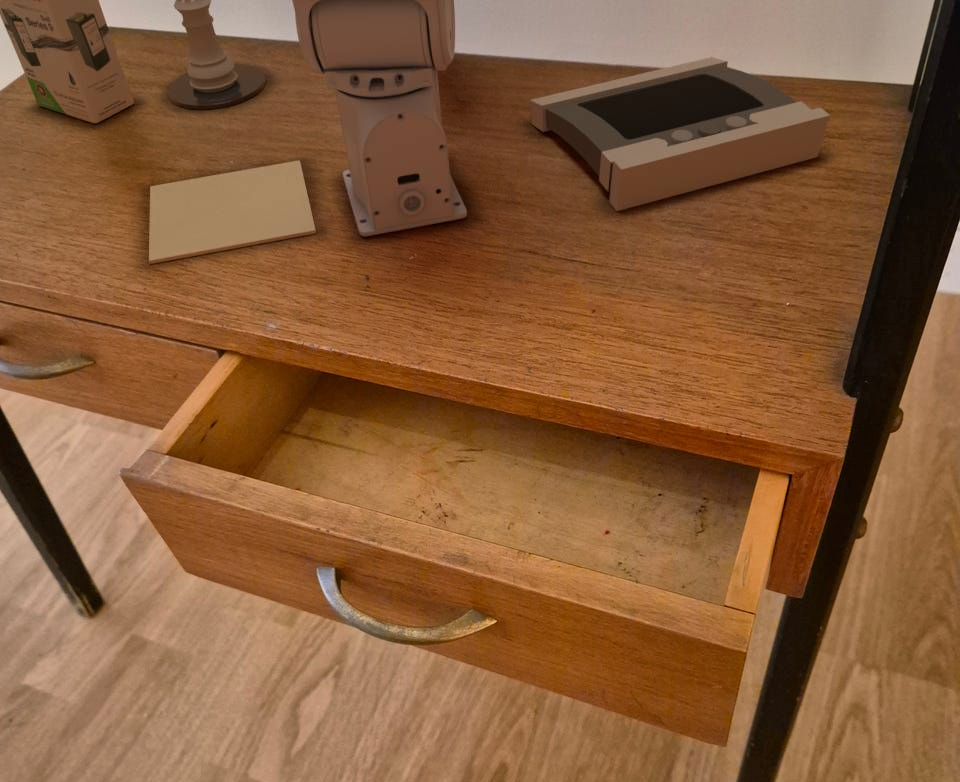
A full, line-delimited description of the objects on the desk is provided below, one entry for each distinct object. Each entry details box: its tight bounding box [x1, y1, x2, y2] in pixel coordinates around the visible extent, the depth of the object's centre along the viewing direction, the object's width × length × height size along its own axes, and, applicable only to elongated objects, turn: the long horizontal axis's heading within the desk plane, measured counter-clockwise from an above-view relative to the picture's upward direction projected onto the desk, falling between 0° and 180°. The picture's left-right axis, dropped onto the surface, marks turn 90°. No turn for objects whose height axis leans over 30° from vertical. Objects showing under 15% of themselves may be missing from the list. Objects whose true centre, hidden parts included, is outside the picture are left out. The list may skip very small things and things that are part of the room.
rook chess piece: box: [173, 0, 238, 93], centre depth 79 cm, size 4×4×8 cm
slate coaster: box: [167, 63, 266, 111], centre depth 82 cm, size 9×9×1 cm
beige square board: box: [148, 160, 317, 265], centre depth 67 cm, size 11×12×1 cm
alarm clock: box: [529, 56, 831, 212], centre depth 69 cm, size 17×5×16 cm
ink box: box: [0, 0, 135, 124], centre depth 77 cm, size 9×5×12 cm, turn 56°
